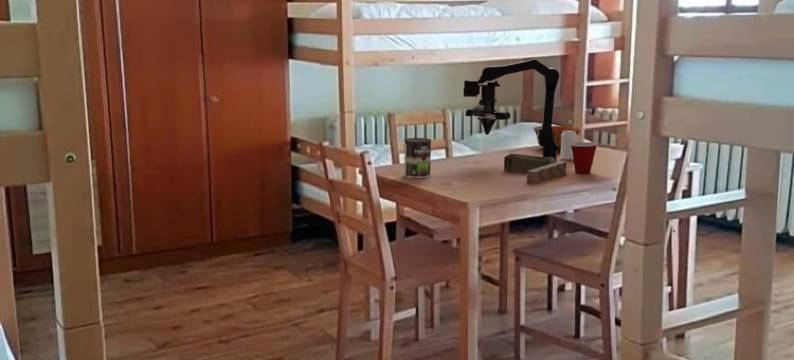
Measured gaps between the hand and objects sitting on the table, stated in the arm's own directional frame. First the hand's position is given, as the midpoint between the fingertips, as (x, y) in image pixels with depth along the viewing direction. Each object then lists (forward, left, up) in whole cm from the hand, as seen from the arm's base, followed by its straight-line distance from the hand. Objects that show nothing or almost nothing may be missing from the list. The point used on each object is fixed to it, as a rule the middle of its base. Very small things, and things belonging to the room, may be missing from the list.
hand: (487, 134), depth 338 cm
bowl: (-49, +7, -12) cm, 51 cm away
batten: (+11, +34, -12) cm, 38 cm away
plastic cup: (-7, +40, -12) cm, 42 cm away
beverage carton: (+4, +23, -12) cm, 26 cm away
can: (-31, +22, -12) cm, 40 cm away
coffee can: (+39, -7, -12) cm, 41 cm away
